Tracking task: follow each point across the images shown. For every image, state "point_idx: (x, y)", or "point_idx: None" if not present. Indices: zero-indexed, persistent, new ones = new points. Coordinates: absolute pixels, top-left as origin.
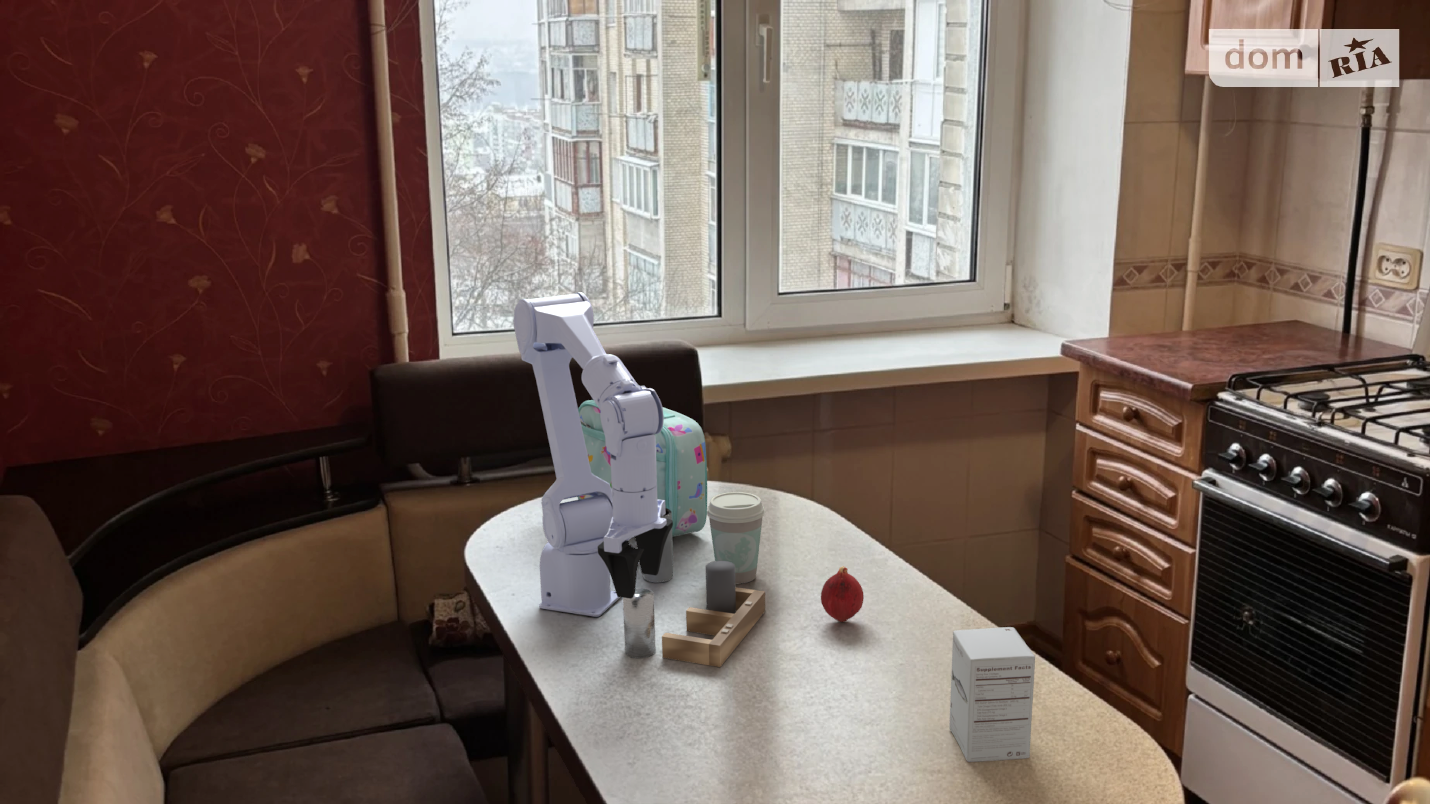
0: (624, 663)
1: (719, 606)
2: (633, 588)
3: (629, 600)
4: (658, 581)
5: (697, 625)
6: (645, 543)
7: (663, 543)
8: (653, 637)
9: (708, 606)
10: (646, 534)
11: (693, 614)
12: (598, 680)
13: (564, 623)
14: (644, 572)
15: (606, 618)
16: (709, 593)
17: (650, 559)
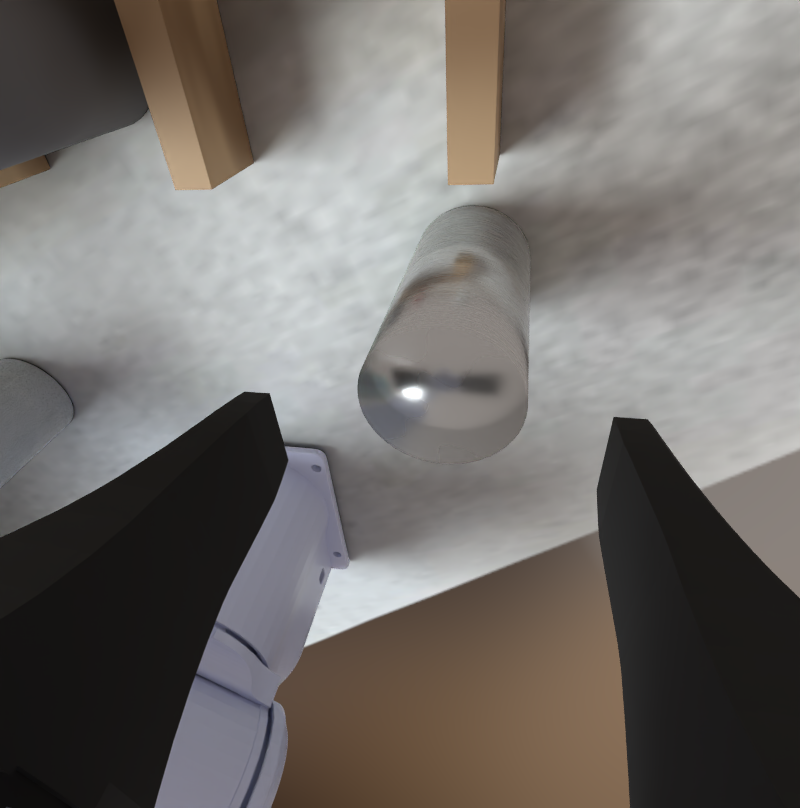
0: (583, 278)
1: (74, 41)
2: (674, 460)
3: (524, 419)
4: (54, 383)
5: (226, 115)
6: (180, 608)
7: (89, 520)
8: (467, 231)
9: (101, 115)
10: (131, 679)
11: (207, 146)
12: (740, 312)
13: (388, 503)
14: (283, 455)
15: (313, 430)
16: (53, 116)
17: (231, 490)
